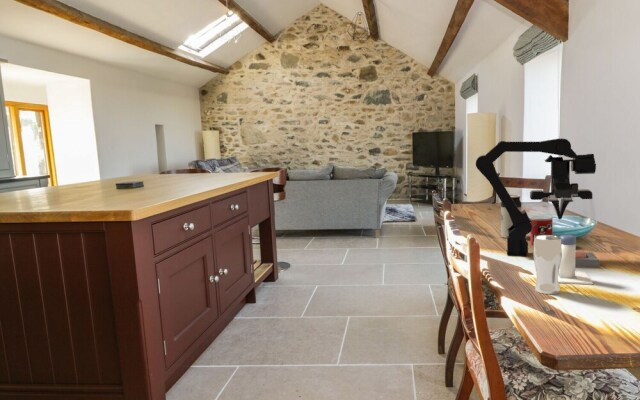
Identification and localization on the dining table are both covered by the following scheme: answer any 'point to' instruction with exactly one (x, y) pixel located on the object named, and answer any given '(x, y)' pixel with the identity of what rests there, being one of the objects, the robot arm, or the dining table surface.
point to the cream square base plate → (576, 279)
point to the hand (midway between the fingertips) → (559, 219)
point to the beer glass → (547, 263)
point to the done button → (580, 254)
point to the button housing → (587, 261)
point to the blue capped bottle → (568, 256)
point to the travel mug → (505, 216)
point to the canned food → (540, 226)
